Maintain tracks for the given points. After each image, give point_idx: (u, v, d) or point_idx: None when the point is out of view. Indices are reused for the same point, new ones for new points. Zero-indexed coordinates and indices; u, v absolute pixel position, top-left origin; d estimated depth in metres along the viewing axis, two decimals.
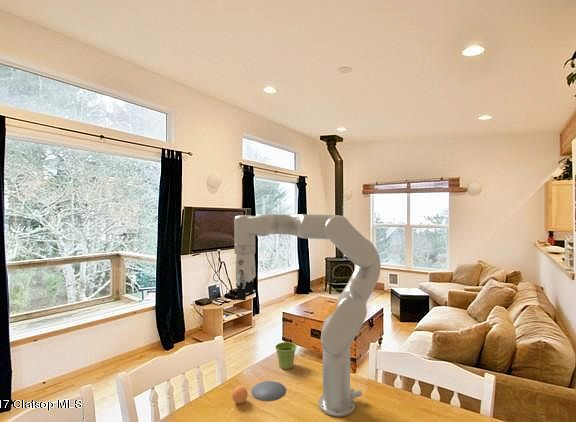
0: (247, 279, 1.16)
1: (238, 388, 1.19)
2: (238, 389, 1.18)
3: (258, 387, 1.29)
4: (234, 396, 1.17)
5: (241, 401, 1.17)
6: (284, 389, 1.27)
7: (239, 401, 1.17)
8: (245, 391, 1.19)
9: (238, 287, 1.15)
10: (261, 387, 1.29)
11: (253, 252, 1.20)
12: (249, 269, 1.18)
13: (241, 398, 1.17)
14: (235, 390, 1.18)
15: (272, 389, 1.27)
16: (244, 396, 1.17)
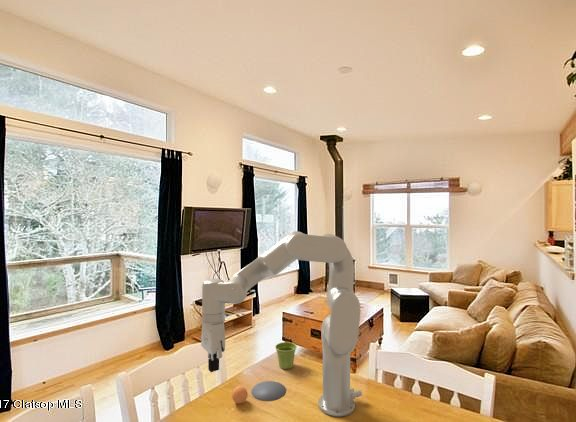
0: None
1: (238, 388, 1.19)
2: (238, 389, 1.18)
3: (258, 387, 1.29)
4: (234, 396, 1.17)
5: (241, 401, 1.17)
6: (284, 389, 1.27)
7: (239, 401, 1.17)
8: (245, 391, 1.19)
9: None
10: (261, 387, 1.29)
11: (202, 320, 1.12)
12: (202, 335, 1.14)
13: (241, 398, 1.17)
14: (235, 390, 1.18)
15: (272, 389, 1.27)
16: (244, 396, 1.17)
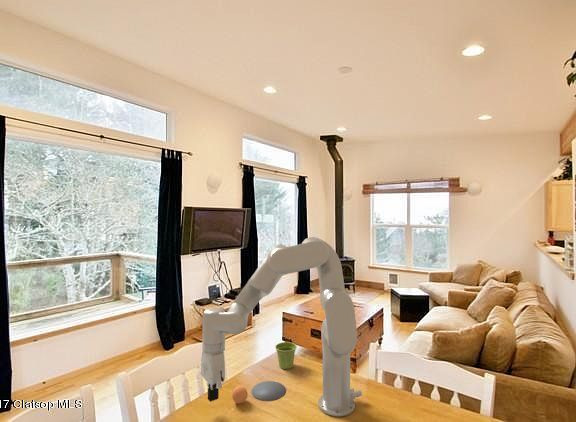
0: None
1: (238, 388, 1.19)
2: (238, 389, 1.18)
3: (258, 387, 1.29)
4: (234, 396, 1.17)
5: (241, 401, 1.17)
6: (284, 389, 1.27)
7: (239, 401, 1.17)
8: (245, 391, 1.19)
9: None
10: (261, 387, 1.29)
11: (202, 349, 1.12)
12: (202, 363, 1.14)
13: (241, 398, 1.17)
14: (235, 390, 1.18)
15: (272, 389, 1.27)
16: (244, 396, 1.17)
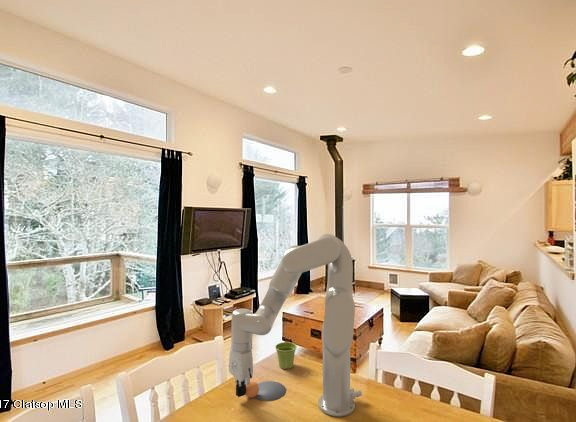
0: None
1: (256, 383, 1.24)
2: (256, 383, 1.24)
3: None
4: (251, 382, 1.22)
5: (251, 391, 1.20)
6: (284, 389, 1.27)
7: (251, 389, 1.20)
8: (258, 390, 1.22)
9: None
10: (261, 387, 1.29)
11: (231, 348, 1.19)
12: (230, 361, 1.21)
13: (254, 389, 1.21)
14: (253, 381, 1.24)
15: (272, 389, 1.27)
16: (256, 391, 1.21)
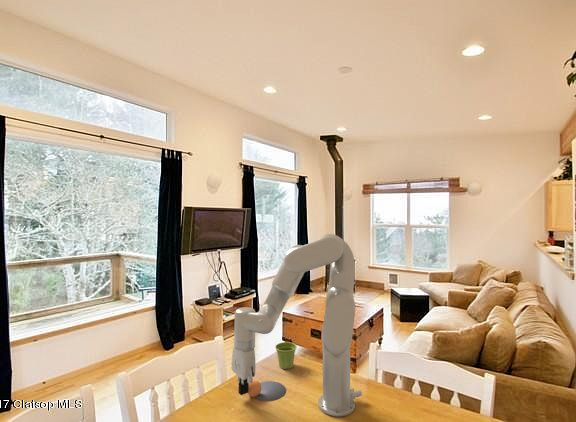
0: None
1: (259, 382, 1.25)
2: (259, 382, 1.24)
3: None
4: (254, 381, 1.23)
5: (254, 390, 1.21)
6: (284, 389, 1.27)
7: (253, 388, 1.21)
8: (260, 390, 1.23)
9: None
10: (261, 387, 1.29)
11: (234, 346, 1.19)
12: (233, 359, 1.22)
13: (257, 388, 1.21)
14: None
15: (272, 389, 1.27)
16: (258, 391, 1.22)
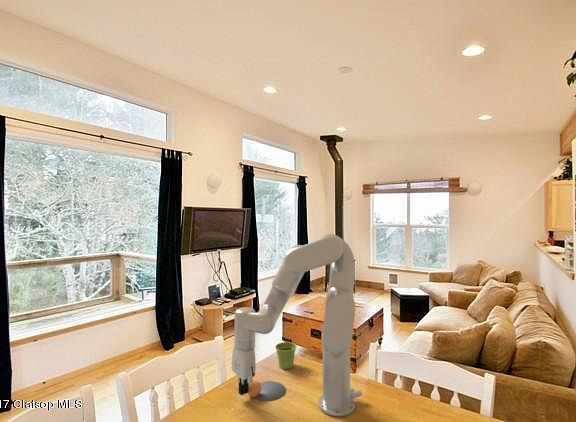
0: None
1: (259, 382, 1.25)
2: (259, 382, 1.24)
3: None
4: (254, 381, 1.23)
5: (254, 390, 1.21)
6: (284, 389, 1.27)
7: (253, 388, 1.21)
8: (260, 390, 1.23)
9: None
10: (261, 387, 1.29)
11: (234, 346, 1.19)
12: (233, 359, 1.22)
13: (257, 388, 1.21)
14: None
15: (272, 389, 1.27)
16: (258, 391, 1.22)
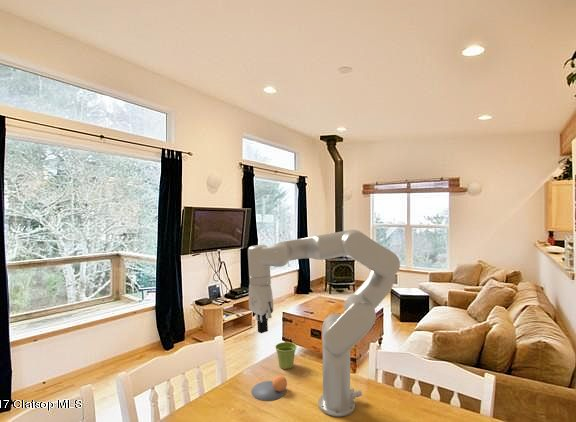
0: None
1: None
2: None
3: (258, 387, 1.29)
4: None
5: (282, 388, 1.24)
6: None
7: (281, 390, 1.24)
8: (275, 381, 1.25)
9: None
10: (261, 387, 1.29)
11: (250, 284, 1.17)
12: (249, 299, 1.20)
13: (278, 389, 1.24)
14: None
15: (272, 389, 1.27)
16: (278, 385, 1.24)
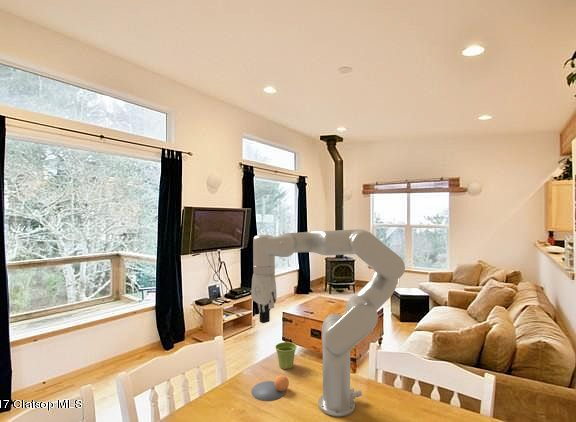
0: None
1: (274, 382, 1.27)
2: (274, 383, 1.26)
3: (258, 387, 1.29)
4: (277, 389, 1.26)
5: (283, 388, 1.24)
6: None
7: (282, 389, 1.24)
8: (278, 380, 1.25)
9: None
10: (261, 387, 1.29)
11: (253, 273, 1.17)
12: (252, 288, 1.19)
13: (280, 387, 1.24)
14: None
15: (272, 389, 1.27)
16: (280, 384, 1.24)
